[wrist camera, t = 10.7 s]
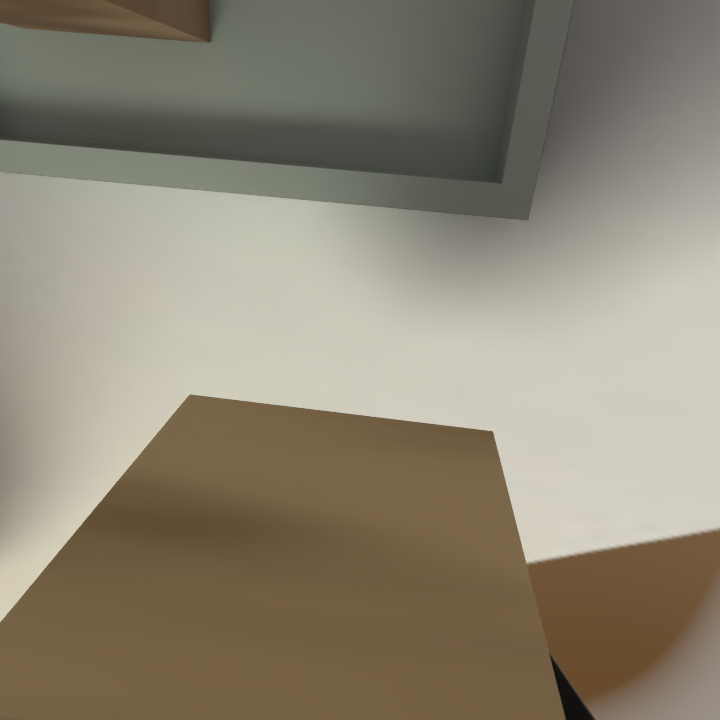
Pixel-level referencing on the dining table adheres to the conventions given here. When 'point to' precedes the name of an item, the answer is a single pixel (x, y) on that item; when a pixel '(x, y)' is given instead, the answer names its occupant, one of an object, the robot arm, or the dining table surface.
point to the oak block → (288, 581)
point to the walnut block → (113, 17)
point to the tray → (299, 103)
